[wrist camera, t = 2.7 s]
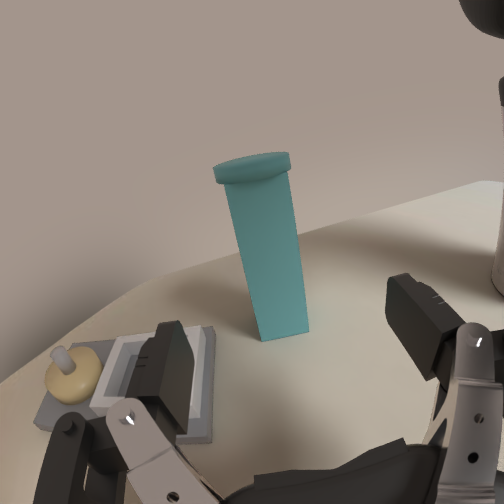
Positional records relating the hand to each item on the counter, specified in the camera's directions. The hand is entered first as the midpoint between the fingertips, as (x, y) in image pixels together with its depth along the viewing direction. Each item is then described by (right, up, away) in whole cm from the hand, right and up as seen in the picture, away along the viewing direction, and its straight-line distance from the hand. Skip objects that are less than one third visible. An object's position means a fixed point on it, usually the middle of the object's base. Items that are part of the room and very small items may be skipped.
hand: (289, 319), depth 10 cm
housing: (-12, -9, +10) cm, 18 cm away
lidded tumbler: (+1, -4, +14) cm, 15 cm away
